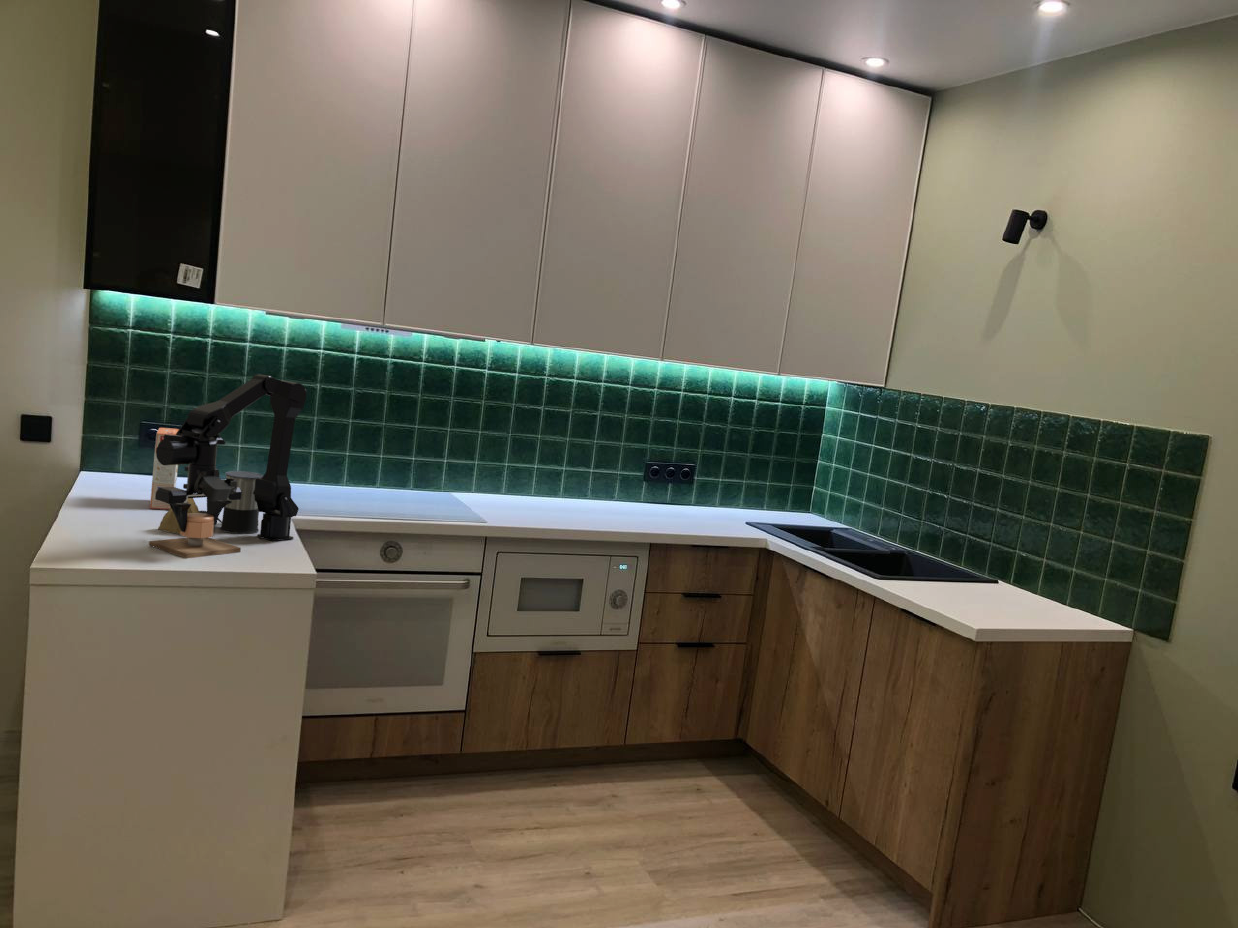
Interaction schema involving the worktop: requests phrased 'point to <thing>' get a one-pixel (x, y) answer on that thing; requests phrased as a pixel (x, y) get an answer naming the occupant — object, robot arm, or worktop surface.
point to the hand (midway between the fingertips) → (196, 530)
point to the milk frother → (241, 505)
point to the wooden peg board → (194, 547)
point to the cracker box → (162, 472)
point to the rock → (170, 520)
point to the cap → (199, 525)
